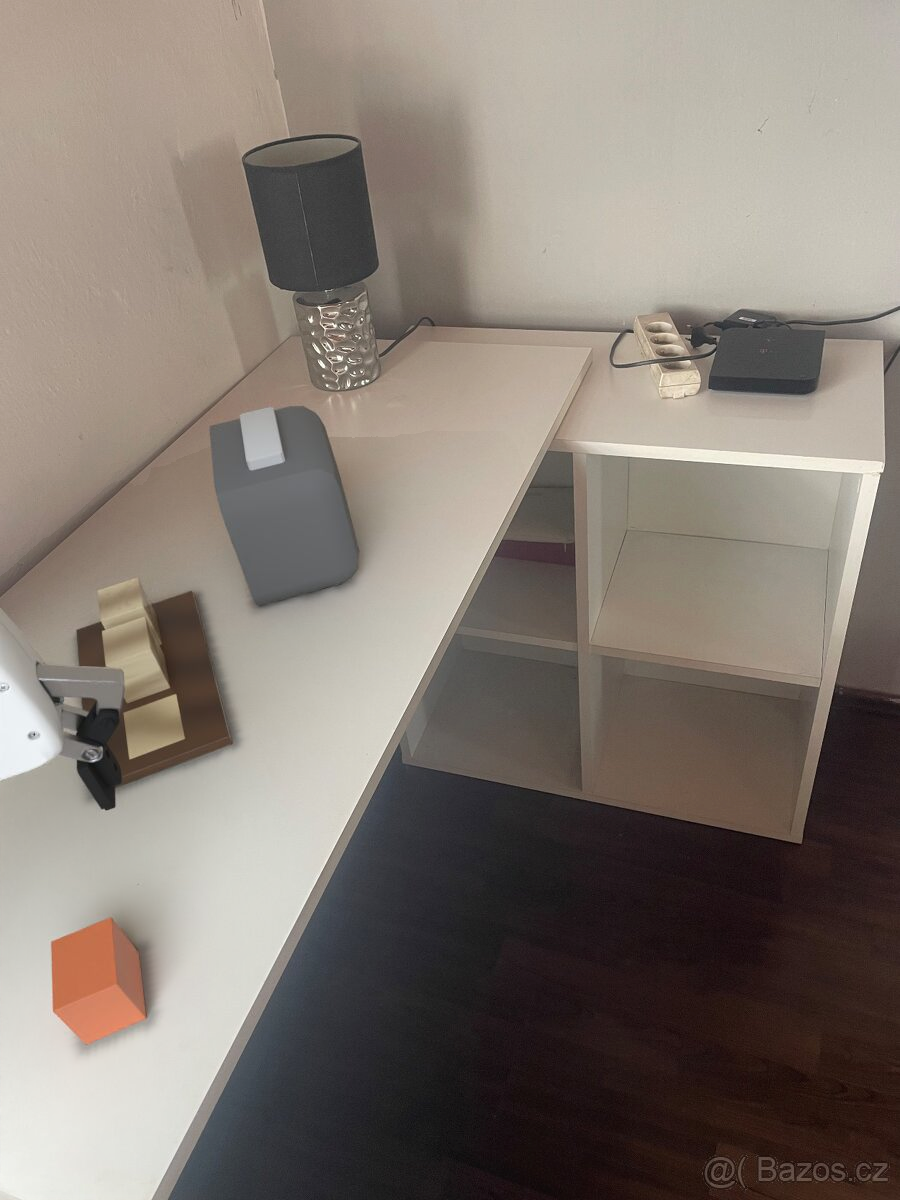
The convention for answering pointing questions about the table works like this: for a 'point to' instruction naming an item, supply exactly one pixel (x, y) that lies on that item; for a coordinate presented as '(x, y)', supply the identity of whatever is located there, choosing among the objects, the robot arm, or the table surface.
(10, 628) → the robot arm
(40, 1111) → the table surface
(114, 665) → the cream wooden block
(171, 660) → the word board
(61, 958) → the terracotta orange cube
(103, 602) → the beige wooden cube
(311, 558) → the alarm clock
